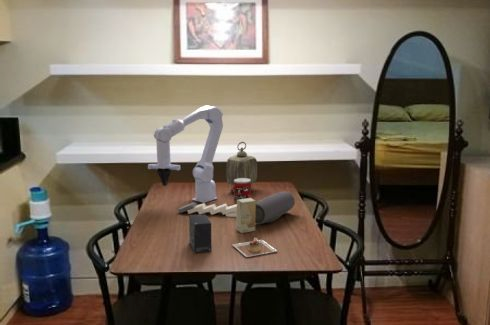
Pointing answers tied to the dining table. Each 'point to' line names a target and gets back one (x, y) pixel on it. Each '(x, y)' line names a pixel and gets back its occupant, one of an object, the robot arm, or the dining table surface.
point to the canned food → (242, 189)
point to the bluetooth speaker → (273, 207)
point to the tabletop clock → (241, 167)
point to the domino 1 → (187, 207)
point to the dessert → (254, 246)
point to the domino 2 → (197, 208)
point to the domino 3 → (207, 209)
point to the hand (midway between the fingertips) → (164, 185)
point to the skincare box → (246, 215)
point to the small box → (200, 233)
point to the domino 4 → (219, 209)
